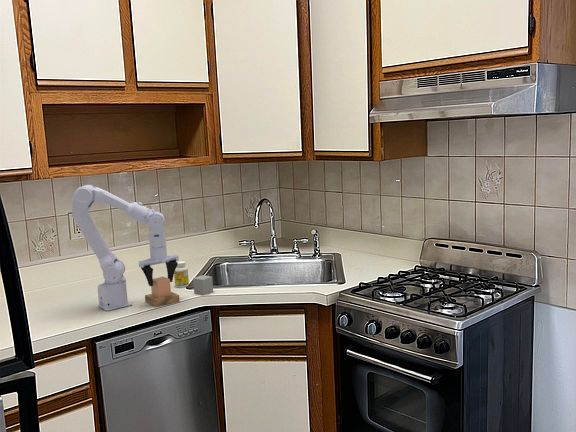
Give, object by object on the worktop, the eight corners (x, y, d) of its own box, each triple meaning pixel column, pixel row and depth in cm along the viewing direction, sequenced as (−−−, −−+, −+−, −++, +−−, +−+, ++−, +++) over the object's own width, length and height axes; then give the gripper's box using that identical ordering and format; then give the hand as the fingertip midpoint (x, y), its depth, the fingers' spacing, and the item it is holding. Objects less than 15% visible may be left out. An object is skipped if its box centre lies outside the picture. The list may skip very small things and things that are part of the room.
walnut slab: (156, 308, 202) (155, 300, 201) (145, 303, 209) (144, 295, 209) (179, 303, 207) (179, 295, 207) (168, 298, 214) (167, 290, 214)
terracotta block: (158, 298, 204) (157, 281, 203) (151, 295, 208) (150, 279, 207) (171, 295, 207) (169, 278, 206) (164, 292, 211) (163, 276, 210)
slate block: (203, 295, 214) (202, 279, 213) (194, 293, 217) (193, 278, 216) (213, 292, 218) (212, 276, 217) (203, 290, 221) (202, 275, 220)
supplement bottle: (191, 285, 229) (190, 261, 228) (182, 288, 225) (180, 264, 223) (181, 283, 232) (180, 260, 231) (172, 286, 228) (170, 263, 226)
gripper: (143, 251, 197) (146, 289, 200) (181, 244, 206) (184, 281, 208) (135, 248, 203) (138, 286, 205) (172, 242, 212) (174, 278, 214)
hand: (160, 283), depth 207 cm, fingers open, 7 cm apart
